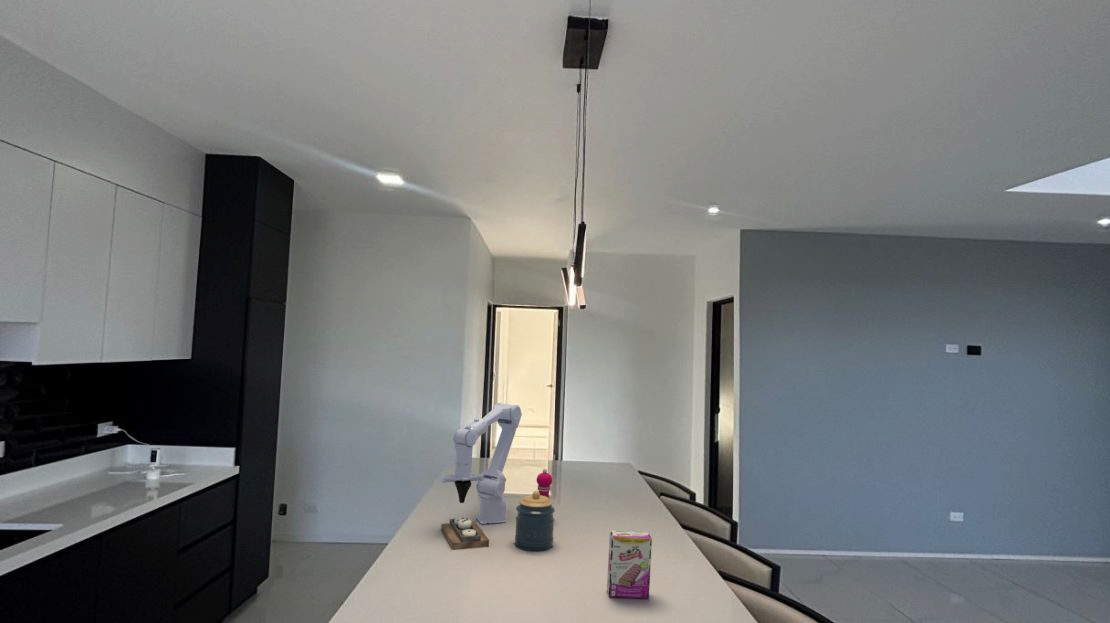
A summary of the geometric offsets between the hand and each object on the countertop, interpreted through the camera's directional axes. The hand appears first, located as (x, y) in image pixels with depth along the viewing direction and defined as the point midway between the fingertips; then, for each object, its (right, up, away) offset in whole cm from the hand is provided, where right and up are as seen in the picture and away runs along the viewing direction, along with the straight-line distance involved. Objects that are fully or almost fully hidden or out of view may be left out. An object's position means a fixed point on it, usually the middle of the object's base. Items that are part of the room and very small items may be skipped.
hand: (461, 502), depth 201 cm
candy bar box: (+53, -10, -46) cm, 71 cm away
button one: (+4, -8, -13) cm, 15 cm away
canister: (+26, -11, -10) cm, 30 cm away
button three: (+2, -6, -6) cm, 9 cm away
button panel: (+2, -10, -7) cm, 12 cm away
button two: (0, -8, -1) cm, 8 cm away
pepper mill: (+28, -12, +14) cm, 34 cm away
